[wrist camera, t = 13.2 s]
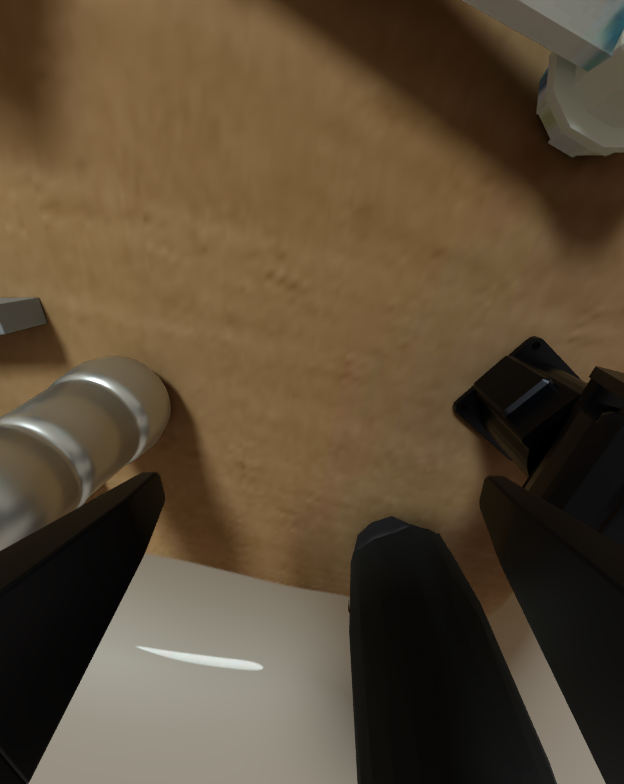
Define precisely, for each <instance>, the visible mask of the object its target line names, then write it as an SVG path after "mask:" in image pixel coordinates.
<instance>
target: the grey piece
mask: <svg viewBox="0 0 624 784" xmlns="http://www.w3.org/2000/svg"><path fill="white" fill-rule="evenodd" d="M462 1H464V2H466V3H467V4H469V5H471V6H473V7H474V8H476V9H478V10H480V11H481V12H483V13H485V14H487V15H489V16H490V17H492V18H494V19H496V20H497V21H499V22H501V23H503V24H505V25H506V26H508V27H510V28H512V29H513V30H515V31H517V32H519V33H520V34H522V35H524V36H526V37H528V38H529V39H531V40H533V41H535V42H536V43H538V44H540V45H542V46H543V47H545V48H547V49H549V50H551V51H552V52H551V54H550V55H549V66H548V68H547V70H546V72H545V73H544V75H543V76H542V78H541V80H540V84H539V93H538V102H537V111H536V115H537V114H538V115H539V117H540V119H541V121H542V123H543V125H544V127H545V129H546V131H547V133H548V135H549V137H550V140H549V141H548V143H549V144H550V145H552V146H554V147H555V148H557V149H559V150H560V151H562V152H564V153H565V154H567V155H569V156H571V157H572V158H573V157H575V156H579V155H604V157H606V156H608V155H610V154H612V153H622V152H624V0H462Z"/></svg>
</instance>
